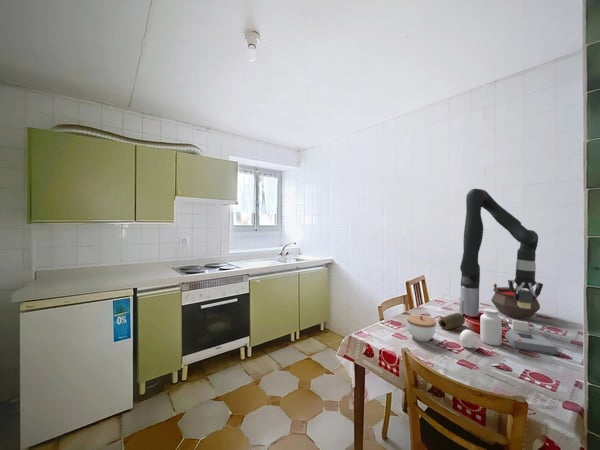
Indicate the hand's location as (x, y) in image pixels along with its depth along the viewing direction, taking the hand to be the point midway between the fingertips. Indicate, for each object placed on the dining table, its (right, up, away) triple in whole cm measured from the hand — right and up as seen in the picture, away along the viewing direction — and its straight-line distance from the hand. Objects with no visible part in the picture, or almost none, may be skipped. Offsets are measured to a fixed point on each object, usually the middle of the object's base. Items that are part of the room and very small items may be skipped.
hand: (523, 301), depth 130 cm
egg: (-40, -16, -17) cm, 46 cm away
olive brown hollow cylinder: (-34, -16, +5) cm, 38 cm away
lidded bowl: (-57, -16, -8) cm, 60 cm away
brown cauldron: (+15, -15, +23) cm, 32 cm away
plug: (0, -3, 0) cm, 3 cm away
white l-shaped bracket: (-7, -12, -4) cm, 15 cm away
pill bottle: (-26, -16, -12) cm, 33 cm away
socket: (-10, -16, -13) cm, 23 cm away
